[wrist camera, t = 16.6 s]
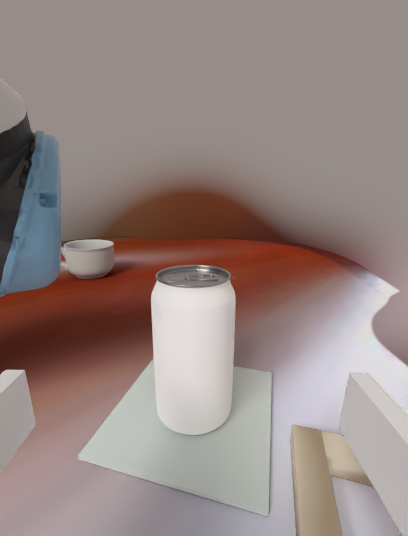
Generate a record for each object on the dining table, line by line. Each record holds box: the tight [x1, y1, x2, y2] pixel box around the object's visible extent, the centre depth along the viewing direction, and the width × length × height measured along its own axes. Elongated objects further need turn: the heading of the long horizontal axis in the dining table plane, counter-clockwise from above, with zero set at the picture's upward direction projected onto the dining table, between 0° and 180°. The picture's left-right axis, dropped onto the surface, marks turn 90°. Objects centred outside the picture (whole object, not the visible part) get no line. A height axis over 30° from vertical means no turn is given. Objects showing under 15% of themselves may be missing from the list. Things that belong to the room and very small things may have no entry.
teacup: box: [61, 240, 114, 279], centre depth 61 cm, size 14×11×8 cm
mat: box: [78, 358, 272, 517], centre depth 23 cm, size 13×13×1 cm
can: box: [151, 265, 236, 436], centre depth 21 cm, size 6×6×12 cm
